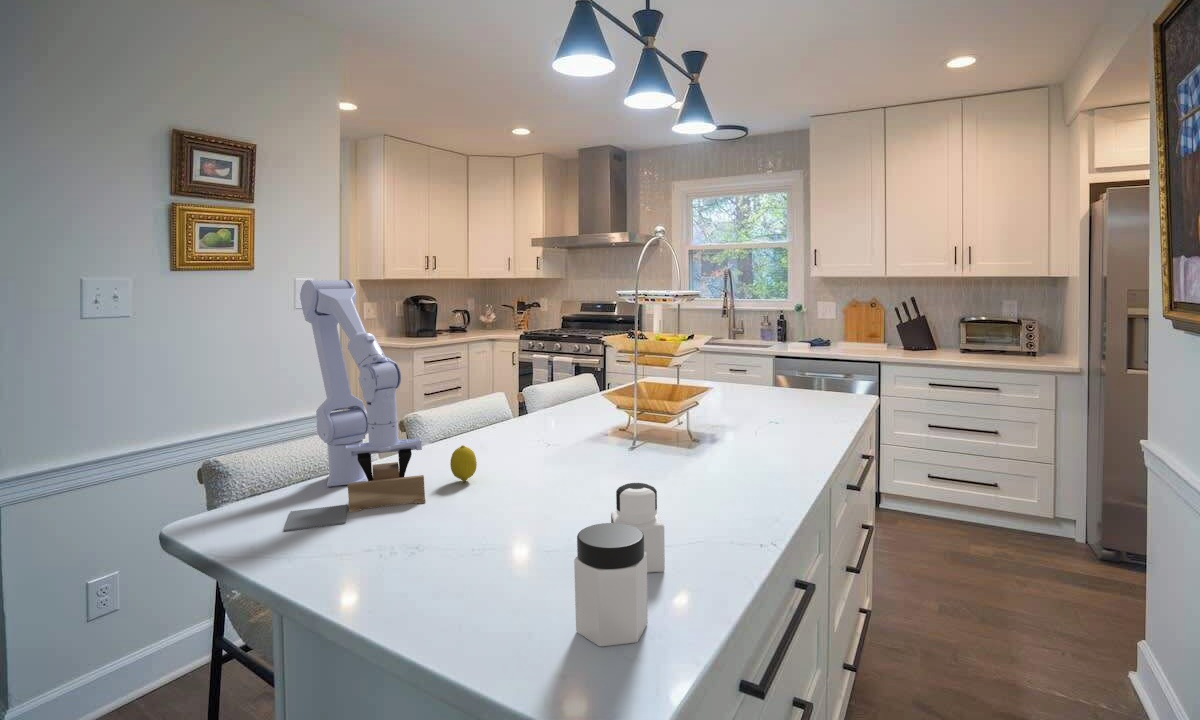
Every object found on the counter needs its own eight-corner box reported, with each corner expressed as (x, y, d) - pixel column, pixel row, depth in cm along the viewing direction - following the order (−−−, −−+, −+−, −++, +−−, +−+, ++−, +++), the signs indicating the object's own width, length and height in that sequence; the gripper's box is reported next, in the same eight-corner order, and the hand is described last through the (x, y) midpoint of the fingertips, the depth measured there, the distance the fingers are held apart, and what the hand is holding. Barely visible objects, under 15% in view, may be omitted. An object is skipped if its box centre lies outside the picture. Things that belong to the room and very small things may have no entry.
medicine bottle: (611, 554, 101) (610, 480, 100) (656, 552, 102) (656, 478, 100) (616, 575, 94) (615, 495, 93) (665, 572, 95) (664, 493, 93)
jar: (639, 608, 85) (638, 519, 83) (656, 641, 77) (655, 544, 75) (571, 615, 83) (569, 525, 82) (581, 650, 75) (578, 551, 74)
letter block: (374, 492, 134) (372, 464, 133) (399, 489, 136) (397, 462, 135) (374, 500, 129) (372, 471, 129) (400, 497, 131) (398, 468, 130)
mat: (290, 512, 123) (290, 511, 123) (347, 505, 126) (347, 504, 126) (284, 531, 114) (283, 529, 114) (345, 523, 117) (345, 521, 117)
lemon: (471, 485, 137) (469, 449, 136) (447, 484, 138) (445, 448, 138) (481, 478, 143) (479, 442, 142) (457, 477, 144) (456, 441, 143)
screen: (349, 507, 126) (348, 482, 125) (424, 497, 130) (423, 473, 130) (349, 512, 123) (347, 486, 122) (425, 502, 127) (424, 477, 127)
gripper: (343, 429, 125) (348, 497, 126) (421, 422, 129) (424, 488, 131) (344, 422, 131) (349, 487, 133) (418, 415, 136) (422, 478, 138)
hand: (386, 487), depth 132 cm, fingers closed on letter block, 5 cm apart
